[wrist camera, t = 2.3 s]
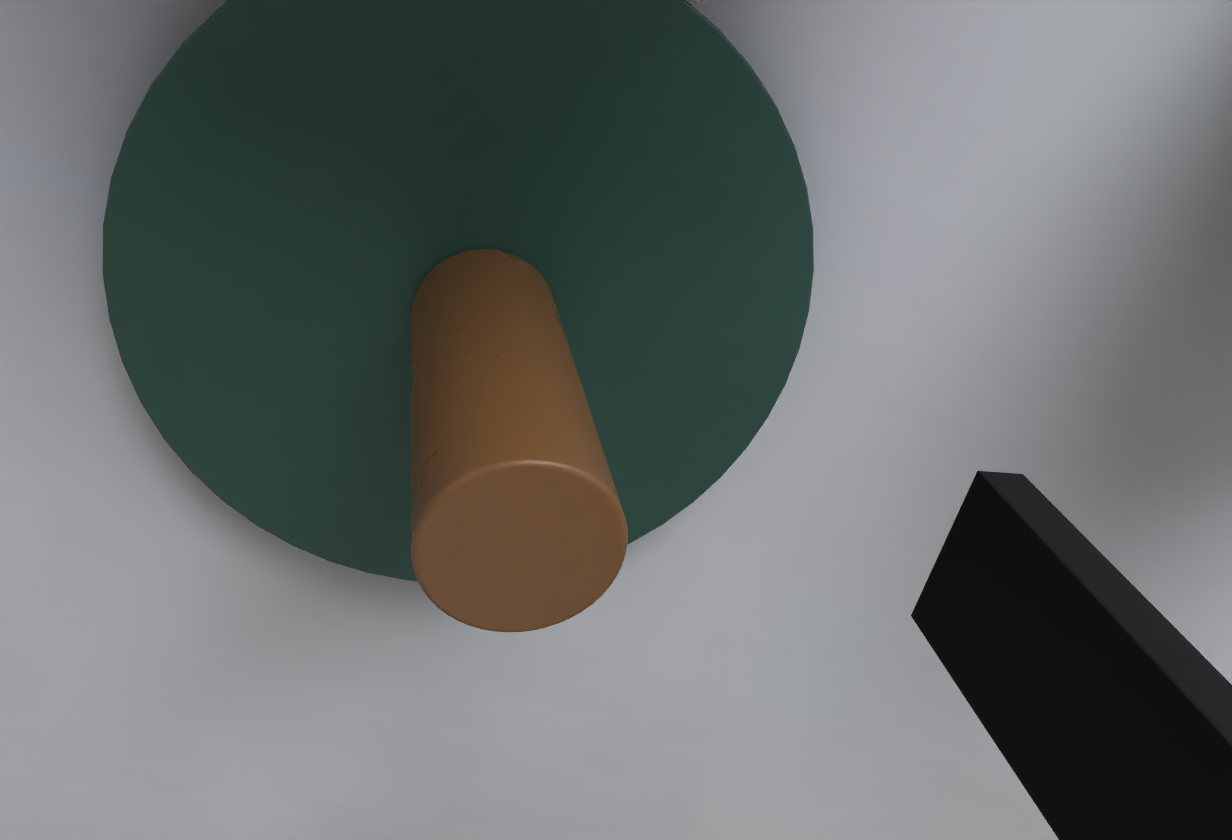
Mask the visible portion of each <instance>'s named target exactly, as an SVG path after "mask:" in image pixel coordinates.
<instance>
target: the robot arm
mask: <svg viewBox="0 0 1232 840" xmlns="http://www.w3.org/2000/svg"><path fill="white" fill-rule="evenodd" d="M911 616H912V618H913V620H914V621H915V623H916V624H917V626H918V627H919V629H920V630H921V632H922V633H923V635H924V636H925V638H926V639H927V641H928V642H929V644H930V645H931V647H932V648H933V650H934V651H935V653H936V654H937V656H938V657H939V659H940V660H941V662H942V663H943V665H944V666H945V668H946V669H947V671H948V672H949V674H950V675H951V677H952V678H953V680H954V682H955V683H956V685H957V686H958V688H959V689H960V691H961V692H962V694H963V695H964V697H965V698H966V700H967V701H968V703H969V704H970V706H971V707H972V709H973V710H974V712H975V713H976V715H977V716H978V718H979V719H980V721H981V722H982V724H983V725H984V727H985V728H986V730H987V731H988V733H989V734H990V736H991V737H992V739H993V740H994V742H995V744H996V745H997V747H998V748H999V750H1000V751H1001V753H1002V754H1003V756H1004V757H1005V759H1006V760H1007V762H1008V763H1009V765H1010V766H1011V768H1012V769H1013V771H1014V772H1015V774H1016V775H1017V777H1018V778H1019V780H1020V781H1021V783H1022V784H1023V786H1024V787H1025V789H1026V790H1027V792H1028V793H1029V795H1030V796H1031V798H1032V799H1033V801H1034V802H1035V804H1036V805H1037V807H1038V809H1039V810H1040V812H1041V813H1042V815H1043V816H1044V818H1045V819H1046V821H1047V822H1048V824H1049V825H1050V827H1051V828H1052V830H1053V831H1054V833H1055V834H1056V836H1057V837H1058V839H1059V840H1232V685H1231V684H1230V683H1229V682H1228V681H1227V680H1226V679H1225V678H1224V677H1223V676H1222V675H1221V674H1220V673H1219V672H1218V671H1217V670H1216V669H1215V668H1214V667H1213V666H1212V665H1211V664H1210V663H1209V662H1208V661H1207V660H1206V659H1205V657H1204V656H1203V655H1202V654H1201V653H1200V652H1199V651H1198V650H1197V649H1196V648H1195V647H1194V646H1193V645H1192V644H1191V643H1190V642H1189V641H1188V640H1187V639H1186V638H1185V637H1184V636H1183V635H1182V634H1181V633H1180V632H1179V631H1178V630H1177V629H1176V628H1175V627H1174V626H1173V625H1172V624H1171V623H1170V622H1169V621H1168V620H1167V619H1166V618H1165V617H1164V616H1163V615H1162V614H1161V613H1160V612H1159V611H1158V610H1157V609H1156V608H1155V607H1154V606H1153V605H1152V604H1151V603H1150V602H1149V601H1148V600H1147V599H1146V598H1145V597H1144V596H1143V595H1142V594H1141V593H1140V592H1139V591H1138V590H1137V589H1136V588H1135V587H1134V586H1133V585H1132V584H1131V583H1130V582H1129V581H1128V580H1127V579H1126V578H1125V577H1124V576H1123V575H1122V574H1121V573H1120V572H1119V571H1118V570H1117V569H1116V568H1115V567H1114V566H1113V565H1112V564H1111V563H1110V562H1109V561H1108V560H1107V559H1106V558H1105V557H1104V556H1103V555H1102V554H1101V553H1100V552H1099V551H1098V550H1097V549H1096V548H1095V547H1094V546H1093V545H1092V544H1091V543H1090V542H1089V541H1088V540H1087V539H1086V537H1085V536H1084V535H1083V534H1082V533H1081V532H1080V531H1079V530H1078V529H1077V528H1076V527H1075V526H1074V525H1073V524H1072V523H1071V522H1070V521H1069V520H1068V519H1067V518H1066V517H1065V516H1064V515H1063V514H1062V513H1061V512H1060V511H1059V510H1058V509H1057V508H1056V507H1055V506H1054V505H1053V504H1052V503H1051V502H1050V501H1049V500H1048V499H1047V498H1046V497H1045V496H1044V495H1043V494H1042V493H1041V492H1040V491H1039V490H1038V489H1037V488H1036V487H1035V486H1034V485H1033V484H1032V483H1031V482H1030V481H1029V480H1028V479H1027V478H1026V477H1025V476H1024V475H1023V474H1014V473H1000V472H986V471H977V473H976V476H975V478H974V480H973V482H972V484H971V486H970V489H969V491H968V493H967V495H966V497H965V499H964V502H963V504H962V506H961V508H960V510H959V512H958V515H957V517H956V519H955V521H954V523H953V525H952V528H951V530H950V532H949V534H948V536H947V539H946V541H945V543H944V545H943V547H942V549H941V552H940V554H939V556H938V558H937V560H936V562H935V565H934V567H933V569H932V571H931V573H930V575H929V578H928V580H927V582H926V584H925V586H924V588H923V591H922V593H921V595H920V597H919V599H918V602H917V604H916V606H915V608H914V610H913V612H912V615H911Z"/></svg>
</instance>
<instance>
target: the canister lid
mask: <svg viewBox="0 0 1232 840" xmlns="http://www.w3.org/2000/svg"><path fill="white" fill-rule="evenodd" d="M813 271H814V267H813V226H812V219H811V213H810V206H809V199H808V193H807V187H806V183H805V180H804V177H803V173H802V170H801V166H800V163H799V160H798V156H797V153H796V150H795V146H794V144H793V142H792V140H791V137H790V135H789V133H788V131H787V129H786V126H785V124H784V122H783V120H782V118H781V115H780V113H779V111H778V109H777V107H776V105H775V103H774V102H773V100H772V98H771V97H770V95H769V94H768V92H767V91H766V89H765V87H764V86H763V84H762V83H761V81H760V80H759V78H758V76H757V75H756V73H755V72H754V70H753V69H752V67H751V66H750V65H749V63H748V62H747V61H746V60H745V59H744V58H743V56H742V55H741V54H740V53H739V52H738V51H737V49H736V48H735V47H734V46H733V45H732V44H731V43H730V41H729V40H728V39H727V38H726V37H725V36H724V34H723V33H722V32H721V31H720V30H719V29H718V28H717V27H716V26H715V25H713V24H712V23H711V22H710V21H709V20H708V19H707V18H705V17H704V16H703V15H702V14H701V13H700V12H699V11H697V10H696V9H695V8H694V7H693V6H692V5H691V4H689V3H688V2H687V1H686V0H229V1H227V2H226V3H225V4H223V5H222V6H221V7H220V8H219V9H218V10H217V11H216V12H215V13H214V14H213V15H212V16H210V17H209V18H208V19H207V20H206V21H205V22H204V23H203V24H202V25H201V26H200V27H199V28H198V29H197V30H196V31H195V32H194V33H193V34H192V35H191V36H190V37H189V38H188V39H186V40H185V41H184V42H183V44H182V45H181V46H180V47H179V49H178V50H177V51H176V53H175V54H174V55H173V57H172V58H171V59H170V61H169V62H168V63H167V65H166V66H165V67H164V69H163V70H162V71H161V73H160V74H159V75H158V77H157V78H156V79H155V81H154V82H153V83H152V85H151V86H150V88H149V90H148V92H147V94H146V96H145V98H144V100H143V101H142V103H141V105H140V107H139V109H138V111H137V113H136V115H135V117H134V118H133V120H132V122H131V124H130V126H129V128H128V130H127V133H126V135H125V138H124V141H123V144H122V147H121V150H120V153H119V156H118V159H117V162H116V165H115V168H114V171H113V174H112V177H111V182H110V188H109V194H108V200H107V206H106V212H105V218H104V224H103V278H104V285H105V292H106V299H107V306H108V313H109V319H110V322H111V326H112V329H113V333H114V336H115V339H116V343H117V346H118V349H119V353H120V356H121V359H122V362H123V365H124V367H125V369H126V371H127V373H128V375H129V378H130V380H131V382H132V384H133V386H134V388H135V391H136V393H137V395H138V397H139V399H140V401H141V403H142V405H143V407H144V408H145V410H146V411H147V413H148V414H149V416H150V417H151V419H152V421H153V422H154V424H155V425H156V427H157V428H158V430H159V432H160V433H161V435H162V436H163V438H164V439H165V441H166V442H167V443H168V444H169V445H170V447H171V448H172V449H173V450H174V451H175V452H176V454H177V455H178V456H179V457H180V458H181V460H182V461H183V462H184V463H185V464H186V466H187V467H188V468H189V469H190V470H191V472H192V473H193V474H195V475H196V476H197V477H198V478H199V479H200V480H201V481H202V482H203V483H204V484H205V485H206V486H208V487H209V488H210V489H211V490H212V491H213V492H214V493H215V494H216V495H217V496H218V497H219V498H220V499H222V500H223V501H224V502H225V503H227V504H228V505H229V506H231V507H232V508H234V509H235V510H236V511H238V512H239V513H240V514H242V515H243V516H245V517H246V518H247V519H249V520H250V521H252V522H253V523H254V524H256V525H257V526H259V527H261V528H262V529H264V530H266V531H268V532H270V533H271V534H273V535H275V536H277V537H278V538H280V539H282V540H284V541H286V542H287V543H289V544H291V545H293V546H295V547H297V548H300V549H302V550H305V551H307V552H309V553H312V554H314V555H316V556H319V557H321V558H324V559H326V560H328V561H331V562H334V563H337V564H341V565H344V566H347V567H351V568H354V569H357V570H361V571H364V572H367V573H372V574H377V575H383V576H388V577H393V578H398V579H404V580H411V581H418V582H419V584H420V586H421V588H422V589H423V591H424V592H425V593H426V595H427V596H428V598H429V599H430V600H431V601H432V602H433V603H434V604H435V605H436V606H437V607H438V608H439V609H441V610H442V611H443V612H445V613H446V614H447V615H449V616H451V617H452V618H454V619H456V620H458V621H460V622H462V623H465V624H467V625H470V626H473V627H476V628H480V629H485V630H490V631H499V632H522V631H530V630H536V629H540V628H545V627H548V626H551V625H554V624H557V623H560V622H562V621H565V620H567V619H569V618H571V617H573V616H575V615H576V614H578V613H580V612H582V611H583V610H585V609H586V608H587V607H589V606H590V605H592V604H593V603H594V602H595V601H596V600H597V599H598V598H599V597H601V596H602V594H603V593H604V592H605V591H606V590H607V589H608V588H609V586H610V585H611V584H612V582H613V581H614V579H615V578H616V576H617V574H618V572H619V570H620V568H621V565H622V562H623V559H624V556H625V553H626V548H627V544H629V543H631V542H633V541H634V540H636V539H638V538H640V537H641V536H643V535H645V534H647V533H648V532H650V531H652V530H654V529H655V528H657V527H659V526H660V525H662V524H664V523H665V522H666V521H668V520H669V519H671V518H672V517H673V516H675V515H676V514H677V513H679V512H680V511H682V510H683V509H684V508H686V507H687V506H688V505H690V504H691V503H693V502H694V501H695V500H696V499H697V498H698V497H699V496H700V495H701V494H703V493H704V492H705V491H706V490H707V489H708V488H709V487H710V486H711V485H712V484H714V483H715V482H716V481H717V480H718V479H719V478H720V477H721V476H722V475H723V474H724V473H725V472H726V470H727V469H728V468H729V467H730V466H731V465H732V464H733V463H734V461H735V460H736V459H737V458H738V457H739V456H740V455H741V454H742V452H743V451H744V450H745V449H746V448H747V446H748V445H749V443H750V442H751V440H752V439H753V438H754V436H755V435H756V433H757V432H758V430H759V429H760V428H761V426H762V425H763V423H764V422H765V420H766V419H767V417H768V416H769V414H770V412H771V410H772V408H773V406H774V404H775V403H776V401H777V399H778V397H779V395H780V393H781V391H782V390H783V388H784V386H785V384H786V381H787V379H788V376H789V373H790V371H791V368H792V366H793V363H794V361H795V358H796V356H797V353H798V350H799V347H800V343H801V339H802V336H803V332H804V328H805V324H806V320H807V316H808V312H809V304H810V296H811V288H812V279H813Z"/></svg>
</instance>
